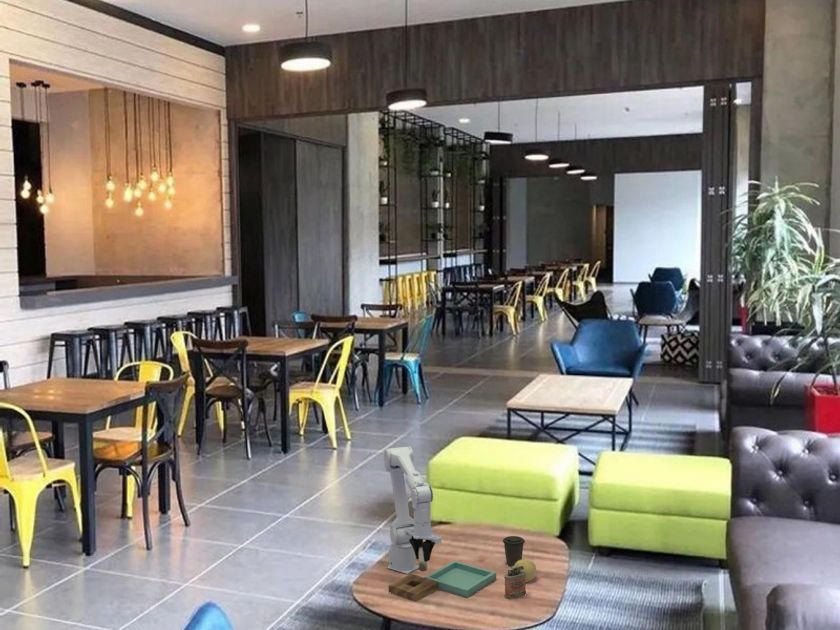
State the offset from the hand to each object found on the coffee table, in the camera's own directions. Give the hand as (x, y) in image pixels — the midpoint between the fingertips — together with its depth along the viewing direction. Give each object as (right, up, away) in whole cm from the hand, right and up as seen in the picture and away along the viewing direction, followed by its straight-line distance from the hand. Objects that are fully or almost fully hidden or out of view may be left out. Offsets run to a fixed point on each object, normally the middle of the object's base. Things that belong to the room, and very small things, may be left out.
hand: (422, 559), depth 279 cm
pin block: (-3, -11, 0) cm, 11 cm away
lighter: (+31, -11, -5) cm, 33 cm away
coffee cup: (+33, -8, +20) cm, 40 cm away
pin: (0, -3, 0) cm, 3 cm away
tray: (+13, -10, +6) cm, 17 cm away
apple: (+36, -9, +7) cm, 38 cm away
